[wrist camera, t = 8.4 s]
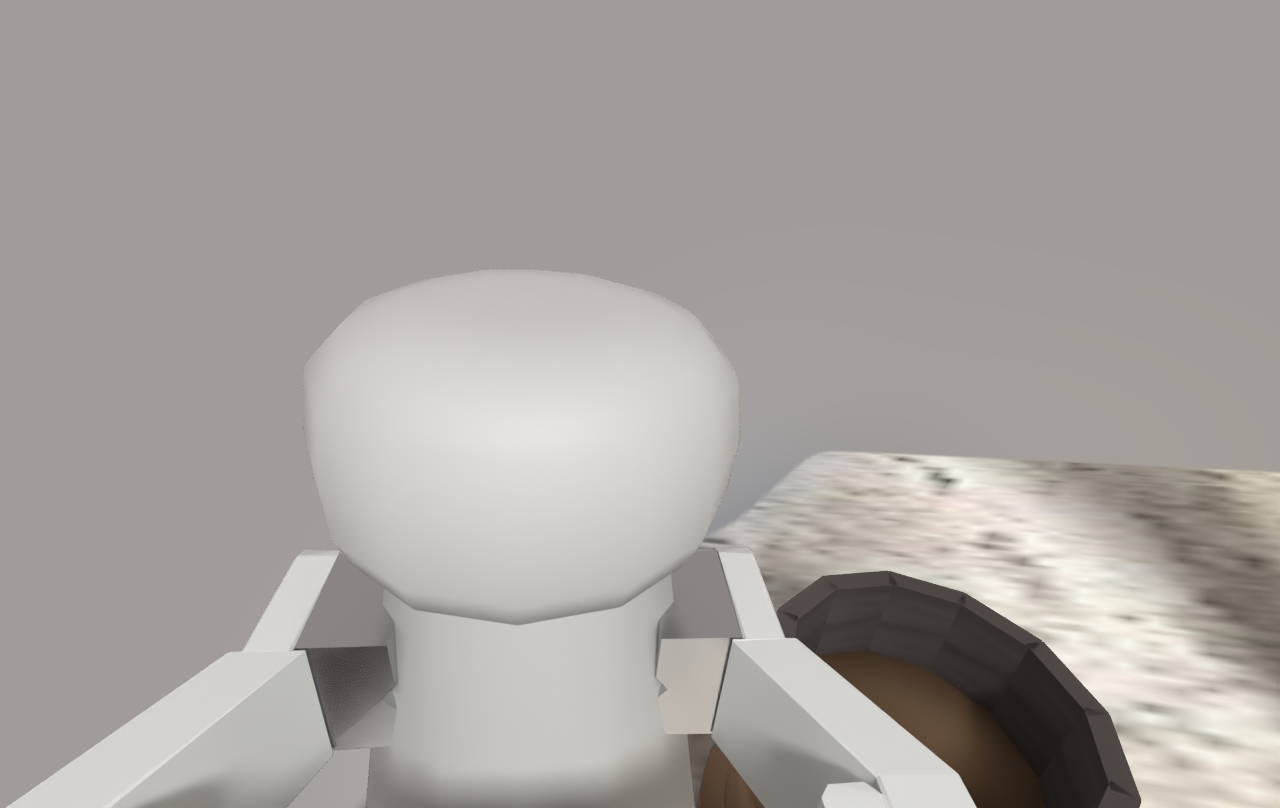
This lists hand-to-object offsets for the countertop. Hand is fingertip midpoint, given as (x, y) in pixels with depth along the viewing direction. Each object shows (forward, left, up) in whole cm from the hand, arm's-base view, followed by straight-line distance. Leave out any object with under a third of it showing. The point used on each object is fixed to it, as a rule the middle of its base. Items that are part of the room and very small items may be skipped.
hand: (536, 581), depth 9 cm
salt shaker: (+1, +1, -9) cm, 9 cm away
